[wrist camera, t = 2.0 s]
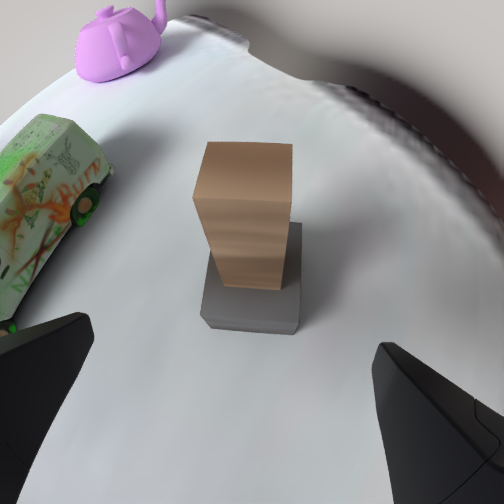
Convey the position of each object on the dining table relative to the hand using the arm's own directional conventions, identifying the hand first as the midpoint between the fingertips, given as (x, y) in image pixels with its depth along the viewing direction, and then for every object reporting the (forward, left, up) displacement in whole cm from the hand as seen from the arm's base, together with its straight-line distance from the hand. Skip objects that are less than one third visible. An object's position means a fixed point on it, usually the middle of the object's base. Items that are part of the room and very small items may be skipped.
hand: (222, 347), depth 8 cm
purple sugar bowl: (+13, +55, -13) cm, 58 cm away
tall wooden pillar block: (+4, +5, -13) cm, 14 cm away
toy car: (-13, +23, -13) cm, 29 cm away
